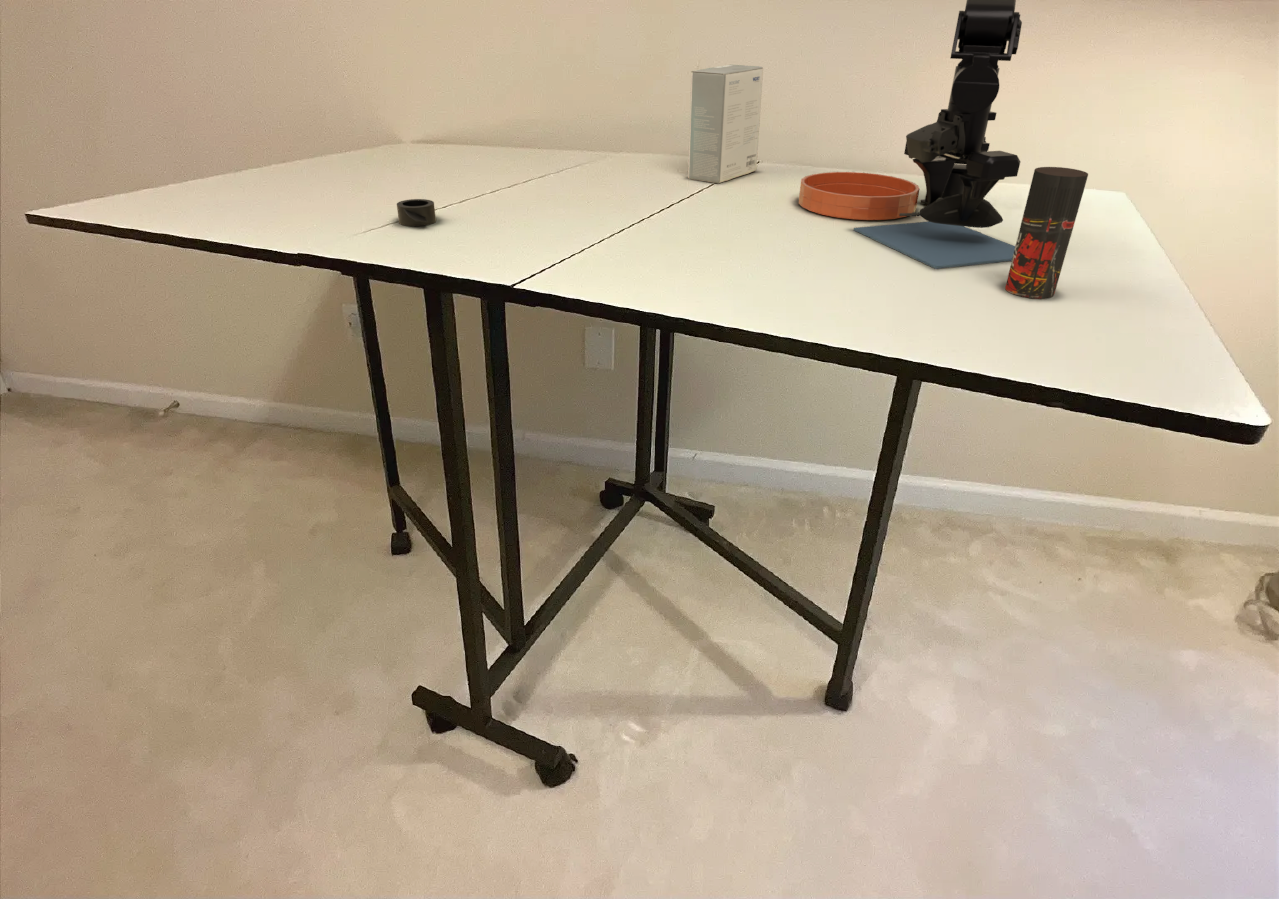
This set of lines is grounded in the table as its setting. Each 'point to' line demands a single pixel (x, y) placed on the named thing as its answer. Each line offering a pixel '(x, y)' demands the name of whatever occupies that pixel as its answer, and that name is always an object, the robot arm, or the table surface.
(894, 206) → the bowl
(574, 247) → the table surface
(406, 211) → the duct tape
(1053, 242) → the deodorant
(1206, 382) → the table surface
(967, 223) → the gaming mouse
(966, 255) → the mouse pad
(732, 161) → the hard drive box
